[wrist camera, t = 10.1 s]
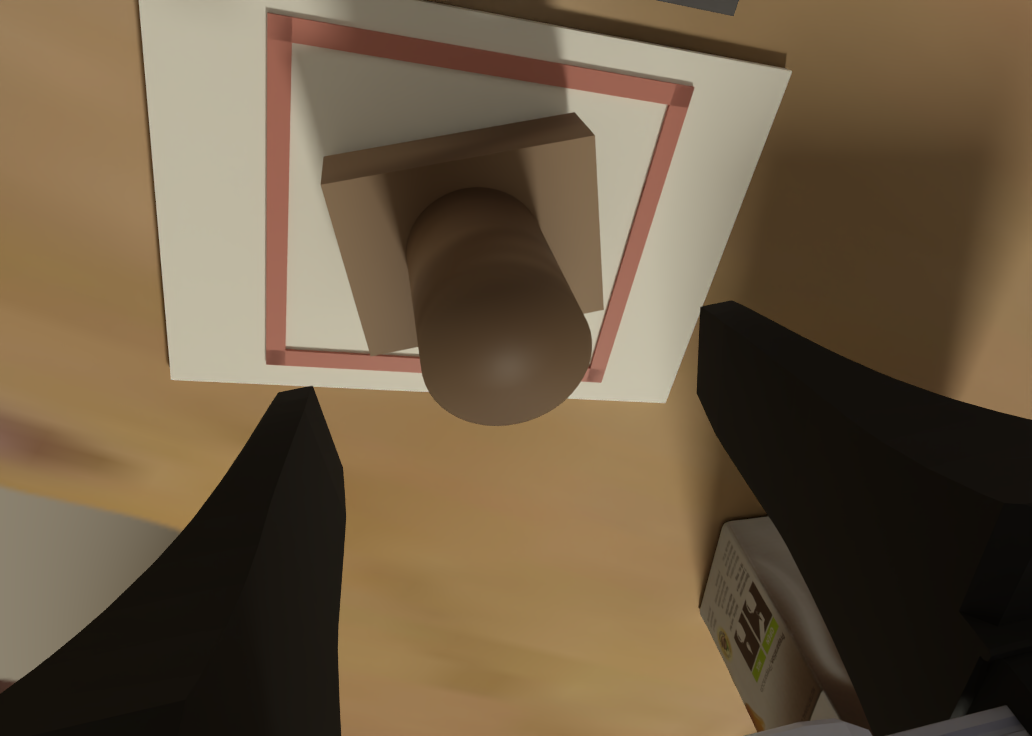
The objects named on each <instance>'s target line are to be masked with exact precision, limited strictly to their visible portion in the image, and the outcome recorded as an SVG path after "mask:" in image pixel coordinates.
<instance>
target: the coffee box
mask: <svg viewBox="0 0 1032 736" xmlns="http://www.w3.org/2000/svg"><path fill="white" fill-rule="evenodd" d="M700 615H701V616H702V618H703V620H704V622H705V624H706V625H707V627H708V629H709V631H710V633H711V635H712V638H713V640H714V642H715V644H716V646H717V648H718V650H719V652H720V654H721V656H722V658H723V660H724V662H725V664H726V666H727V668H728V670H729V673H730V675H731V677H732V680H733V682H734V684H735V686H736V688H737V690H738V692H739V694H740V696H741V698H742V700H743V703H744V705H745V707H746V709H747V711H748V713H749V715H750V717H751V719H752V721H753V723H754V726H755V728H756V730H757V732H761V731H765V730H769V729H773V728H777V727H781V726H785V725H789V724H793V723H797V722H804V721H813V720H822V719H831V718H835V719H838V720H841V721H844V722H847V723H850V724H853V725H856V726H859V727H862V728H865V729H868V730H869V731H870V733H871V735H872V736H874V735H873V733H872V730H871V728H870V725H869V723H868V720H867V718H866V716H865V713H864V711H863V708H862V706H861V703H860V701H859V698H858V696H857V694H856V691H855V689H854V687H853V685H852V682H851V680H850V678H849V676H848V673H847V671H846V669H845V666H844V664H843V662H842V660H841V657H840V655H839V653H838V651H837V648H836V646H835V644H834V642H833V639H832V637H831V635H830V633H829V631H828V629H827V627H826V625H825V622H824V620H823V618H822V616H821V614H820V612H819V610H818V608H817V606H816V604H815V601H814V599H813V597H812V595H811V593H810V591H809V589H808V587H807V585H806V583H805V581H804V579H803V577H802V575H801V573H800V571H799V569H798V567H797V565H796V563H795V561H794V559H793V557H792V555H791V553H790V551H789V549H788V547H787V546H786V544H785V542H784V541H783V539H782V537H781V535H780V534H779V532H778V530H777V529H776V527H775V525H774V524H773V522H772V521H771V519H770V518H769V516H767V517H759V518H752V519H744V520H734V521H729V522H726V523H725V524H724V525H723V527H722V530H721V533H720V537H719V541H718V544H717V548H716V552H715V555H714V559H713V563H712V567H711V570H710V574H709V578H708V581H707V585H706V589H705V593H704V597H703V600H702V604H701V608H700Z"/></svg>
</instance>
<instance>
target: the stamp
mask: <svg viewBox="0 0 1032 736" xmlns="http://www.w3.org/2000/svg"><path fill="white" fill-rule="evenodd" d="M321 188H322V192H323V195H324V198H325V202H326V205H327V209H328V212H329V216H330V219H331V222H332V226H333V229H334V233H335V236H336V239H337V243H338V246H339V250H340V253H341V257H342V260H343V263H344V267H345V270H346V274H347V277H348V281H349V284H350V287H351V291H352V294H353V298H354V301H355V305H356V308H357V311H358V315H359V318H360V322H361V325H362V329H363V332H364V335H365V339H366V342H367V346H368V349H369V352H370V356H376V355H381V354H386V353H391V352H396V351H401V350H406V349H411V348H416V347H418V350H419V357H420V365H421V371H422V377H423V380H424V383H425V385H426V387H427V389H428V391H429V393H430V394H431V396H432V397H433V398H434V400H435V401H436V402H437V403H438V404H439V405H440V406H441V407H442V408H444V409H445V410H446V411H448V412H449V413H451V414H452V415H454V416H456V417H458V418H460V419H463V420H465V421H468V422H472V423H475V424H481V425H488V426H504V425H513V424H518V423H522V422H526V421H529V420H532V419H535V418H537V417H540V416H542V415H544V414H546V413H548V412H549V411H551V410H552V409H554V408H556V407H557V406H558V405H560V404H561V403H562V402H564V401H565V400H566V399H567V398H568V397H569V396H570V395H571V394H572V393H573V392H574V390H575V389H576V388H577V387H578V385H579V384H580V382H581V381H582V379H583V378H584V375H585V373H586V371H587V369H588V366H589V363H590V360H591V353H592V337H591V331H590V328H589V325H588V322H587V320H586V318H585V316H584V314H585V313H590V312H595V311H600V310H604V304H603V284H602V264H601V244H600V224H599V204H598V185H597V165H596V145H595V135H594V134H593V132H592V131H591V130H590V129H589V128H588V127H587V126H586V125H585V123H584V122H583V121H582V120H581V119H580V118H579V117H578V115H577V114H576V113H575V112H572V113H567V114H561V115H556V116H550V117H544V118H539V119H533V120H527V121H522V122H516V123H510V124H505V125H499V126H493V127H488V128H482V129H476V130H471V131H465V132H459V133H454V134H448V135H442V136H437V137H431V138H425V139H420V140H414V141H409V142H403V143H397V144H392V145H386V146H380V147H375V148H369V149H363V150H358V151H352V152H346V153H341V154H335V155H329V156H324V157H323V166H322V175H321Z"/></svg>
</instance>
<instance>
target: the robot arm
mask: <svg viewBox="0 0 1032 736" xmlns="http://www.w3.org/2000/svg"><path fill="white" fill-rule="evenodd" d="M697 395H698V397H699V399H700V401H701V404H702V406H703V408H704V410H705V413H706V415H707V417H708V419H709V421H710V423H711V425H712V427H713V430H714V432H715V434H716V436H717V437H718V439H719V441H720V442H721V444H722V445H723V447H724V449H725V450H726V452H727V453H728V455H729V456H730V458H731V459H732V461H733V463H734V464H735V466H736V467H737V469H738V470H739V472H740V473H741V475H742V476H743V478H744V480H745V481H746V483H747V484H748V486H749V487H750V489H751V490H752V492H753V493H754V495H755V496H756V498H757V499H758V501H759V502H760V504H761V505H762V507H763V509H764V510H765V512H766V513H767V515H768V516H769V518H770V519H771V521H772V522H773V524H774V525H775V527H776V529H777V530H778V532H779V534H780V535H781V537H782V539H783V541H784V542H785V544H786V546H787V547H788V549H789V551H790V553H791V555H792V557H793V559H794V561H795V563H796V565H797V567H798V569H799V571H800V573H801V575H802V577H803V579H804V581H805V583H806V585H807V587H808V589H809V591H810V593H811V595H812V597H813V599H814V601H815V604H816V606H817V608H818V610H819V612H820V614H821V616H822V618H823V620H824V622H825V625H826V627H827V629H828V631H829V633H830V635H831V637H832V639H833V642H834V644H835V646H836V648H837V651H838V653H839V655H840V657H841V660H842V662H843V664H844V666H845V669H846V671H847V673H848V676H849V678H850V680H851V682H852V685H853V687H854V689H855V691H856V694H857V696H858V698H859V701H860V703H861V706H862V708H863V711H864V713H865V716H866V718H867V720H868V723H869V725H870V728H871V730H872V733H873V735H874V736H1032V420H1030V419H1026V418H1021V417H1017V416H1013V415H1009V414H1005V413H1001V412H997V411H993V410H990V409H986V408H983V407H979V406H976V405H972V404H968V403H965V402H961V401H958V400H955V399H951V398H948V397H945V396H942V395H939V394H936V393H933V392H930V391H927V390H924V389H922V388H919V387H916V386H913V385H910V384H908V383H905V382H902V381H899V380H897V379H894V378H891V377H889V376H886V375H884V374H881V373H879V372H877V371H874V370H872V369H870V368H868V367H865V366H863V365H861V364H858V363H856V362H854V361H852V360H849V359H847V358H845V357H843V356H841V355H839V354H836V353H834V352H832V351H830V350H828V349H826V348H824V347H822V346H820V345H818V344H816V343H814V342H812V341H810V340H808V339H806V338H804V337H802V336H800V335H798V334H796V333H795V332H793V331H791V330H789V329H787V328H785V327H783V326H781V325H779V324H777V323H776V322H774V321H772V320H770V319H768V318H766V317H764V316H762V315H760V314H759V313H757V312H755V311H753V310H751V309H749V308H747V307H745V306H743V305H741V304H739V303H736V302H734V301H732V300H731V301H726V302H722V303H717V304H712V305H707V306H702V307H700V326H699V350H698V375H697ZM345 526H346V507H345V490H344V476H343V467H342V464H341V461H340V459H339V456H338V453H337V451H336V448H335V445H334V442H333V440H332V437H331V434H330V432H329V429H328V426H327V423H326V421H325V418H324V415H323V413H322V410H321V407H320V404H319V402H318V399H317V396H316V394H315V391H314V388H313V386H308V387H303V388H298V389H294V390H289V391H284V392H279V393H278V394H277V395H276V397H275V398H274V400H273V401H272V403H271V404H270V406H269V408H268V409H267V411H266V412H265V414H264V416H263V417H262V419H261V420H260V422H259V424H258V425H257V427H256V429H255V430H254V432H253V433H252V435H251V437H250V438H249V440H248V441H247V443H246V444H245V446H244V448H243V449H242V451H241V452H240V454H239V455H238V457H237V458H236V460H235V461H234V463H233V464H232V466H231V467H230V469H229V470H228V472H227V473H226V475H225V476H224V477H223V479H222V480H221V482H220V483H219V485H218V486H217V487H216V489H215V490H214V491H213V493H212V494H211V495H210V497H209V498H208V499H207V501H206V502H205V503H204V505H203V506H202V507H201V509H200V510H199V511H198V513H197V514H196V515H195V517H194V518H193V519H192V520H191V521H190V523H189V524H188V525H187V526H186V527H185V529H184V530H183V531H182V532H181V533H180V535H179V536H178V537H177V538H176V539H175V540H174V541H173V542H172V544H171V545H170V546H169V547H168V548H167V549H166V550H165V551H164V552H163V553H162V555H161V556H160V557H159V558H158V559H157V560H156V561H155V562H154V563H153V564H152V565H151V566H150V567H149V568H148V569H147V570H146V571H145V572H144V573H143V574H142V575H141V576H140V577H139V578H138V579H137V580H136V581H135V582H134V583H133V584H132V585H131V586H130V587H129V588H128V589H127V590H125V591H124V593H122V594H121V595H120V596H119V597H118V598H117V599H116V600H115V601H114V602H113V603H112V604H111V605H110V606H109V607H108V608H107V609H106V610H105V611H103V613H101V614H100V615H99V616H98V617H97V618H96V619H94V620H93V621H92V622H91V623H90V624H89V625H87V626H86V627H85V628H84V629H83V630H82V631H81V632H79V633H78V634H77V635H76V636H75V637H73V638H72V639H71V640H70V641H68V642H67V643H66V644H65V645H64V646H62V647H61V648H60V649H59V650H58V651H56V652H55V653H54V654H53V655H51V656H50V657H49V658H48V659H46V660H45V661H44V662H42V663H41V664H40V665H39V666H37V667H36V668H35V669H34V670H32V671H31V672H29V673H28V674H27V675H25V676H24V677H23V678H21V679H20V680H19V681H17V682H16V683H14V684H13V685H12V686H10V687H9V688H8V689H6V690H5V691H4V692H2V693H1V694H0V736H341V723H340V703H339V675H338V623H339V610H340V596H341V583H342V569H343V556H344V541H345ZM745 736H872V735H871V733H870V731H869V730H868V729H865V728H862V727H859V726H856V725H853V724H850V723H847V722H844V721H841V720H838V719H835V718H831V719H822V720H813V721H804V722H797V723H793V724H789V725H785V726H781V727H777V728H773V729H769V730H765V731H761V732H757V733H753V734H749V735H745Z"/></svg>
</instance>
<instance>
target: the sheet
mask: <svg viewBox="0 0 1032 736" xmlns="http://www.w3.org/2000/svg"><path fill="white" fill-rule="evenodd" d="M139 9H140V21H141V33H142V45H143V56H144V68H145V80H146V92H147V103H148V115H149V127H150V139H151V150H152V162H153V174H154V186H155V197H156V209H157V221H158V233H159V244H160V256H161V268H162V280H163V291H164V303H165V315H166V327H167V338H168V350H169V362H170V374H171V380H185V381H206V382H227V383H249V384H270V385H291V386H313V387H334V388H355V389H376V390H398V391H419V392H429V391H428V389H427V387H426V385H425V383H424V380H423V377H422V371H421V365H420V357H419V350H418V347H416V348H411V349H406V350H401V351H396V352H391V353H386V354H381V355H376V356H370V352H369V349H368V346H367V342H366V339H365V335H364V332H363V329H362V325H361V322H360V318H359V315H358V311H357V308H356V305H355V301H354V298H353V294H352V291H351V287H350V284H349V281H348V277H347V274H346V270H345V267H344V263H343V260H342V257H341V253H340V250H339V246H338V243H337V239H336V236H335V233H334V229H333V226H332V222H331V219H330V216H329V212H328V209H327V205H326V202H325V198H324V195H323V192H322V188H321V175H322V166H323V157H324V156H329V155H335V154H341V153H346V152H352V151H358V150H363V149H369V148H375V147H380V146H386V145H392V144H397V143H403V142H409V141H414V140H420V139H425V138H431V137H437V136H442V135H448V134H454V133H459V132H465V131H471V130H476V129H482V128H488V127H493V126H499V125H505V124H510V123H516V122H522V121H527V120H533V119H539V118H544V117H550V116H556V115H561V114H567V113H572V112H575V113H576V114H577V115H578V117H579V118H580V119H581V120H582V121H583V122H584V123H585V125H586V126H587V127H588V128H589V129H590V130H591V131H592V132H593V134H594V135H595V145H596V165H597V185H598V204H599V224H600V244H601V264H602V284H603V304H604V310H600V311H595V312H590V313H585V314H584V316H585V318H586V320H587V322H588V325H589V328H590V331H591V337H592V353H591V360H590V363H589V366H588V369H587V371H586V373H585V375H584V378H583V379H582V381H581V382H580V384H579V385H578V387H577V388H576V389H575V390H574V392H573V393H572V394H571V395H570V396H569V397H568V399H589V400H610V401H632V402H653V403H666V400H667V398H668V395H669V392H670V390H671V387H672V385H673V382H674V379H675V377H676V374H677V372H678V369H679V366H680V364H681V361H682V358H683V356H684V353H685V351H686V348H687V345H688V343H689V340H690V338H691V335H692V332H693V330H694V327H695V325H696V322H697V319H698V317H699V314H700V307H702V306H703V304H704V301H705V298H706V296H707V293H708V291H709V288H710V285H711V283H712V280H713V277H714V275H715V272H716V270H717V267H718V264H719V262H720V259H721V257H722V254H723V251H724V249H725V246H726V243H727V241H728V238H729V236H730V233H731V230H732V228H733V225H734V223H735V220H736V217H737V215H738V212H739V209H740V207H741V204H742V202H743V199H744V196H745V194H746V191H747V189H748V186H749V183H750V181H751V178H752V176H753V173H754V170H755V168H756V165H757V162H758V160H759V157H760V155H761V152H762V149H763V147H764V144H765V142H766V139H767V136H768V134H769V131H770V128H771V126H772V123H773V121H774V118H775V115H776V113H777V110H778V108H779V105H780V102H781V100H782V97H783V94H784V92H785V89H786V87H787V84H788V81H789V79H790V76H791V74H792V71H791V70H789V69H787V68H781V67H776V66H771V65H766V64H760V63H755V62H750V61H744V60H739V59H734V58H728V57H723V56H718V55H713V54H707V53H702V52H697V51H691V50H686V49H681V48H675V47H670V46H665V45H660V44H654V43H649V42H644V41H638V40H633V39H628V38H622V37H617V36H612V35H606V34H601V33H596V32H591V31H585V30H580V29H575V28H569V27H564V26H559V25H553V24H548V23H543V22H538V21H532V20H527V19H522V18H516V17H511V16H506V15H500V14H495V13H490V12H485V11H479V10H474V9H469V8H463V7H458V6H453V5H447V4H442V3H437V2H431V1H426V0H139Z"/></svg>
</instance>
